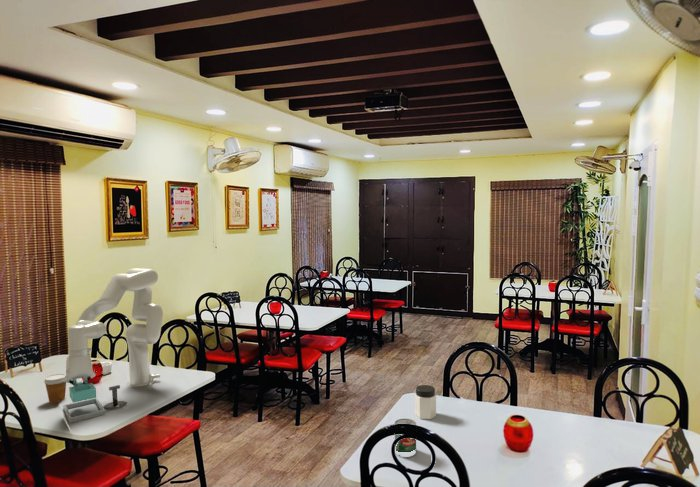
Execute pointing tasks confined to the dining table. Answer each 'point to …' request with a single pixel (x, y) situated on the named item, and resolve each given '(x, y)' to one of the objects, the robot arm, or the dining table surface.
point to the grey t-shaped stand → (115, 400)
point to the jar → (425, 402)
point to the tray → (84, 416)
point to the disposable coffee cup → (55, 387)
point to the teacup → (106, 367)
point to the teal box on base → (82, 392)
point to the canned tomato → (406, 443)
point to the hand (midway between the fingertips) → (80, 392)
